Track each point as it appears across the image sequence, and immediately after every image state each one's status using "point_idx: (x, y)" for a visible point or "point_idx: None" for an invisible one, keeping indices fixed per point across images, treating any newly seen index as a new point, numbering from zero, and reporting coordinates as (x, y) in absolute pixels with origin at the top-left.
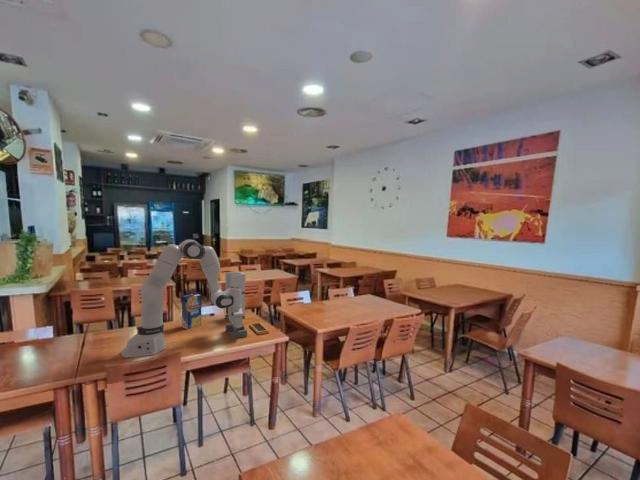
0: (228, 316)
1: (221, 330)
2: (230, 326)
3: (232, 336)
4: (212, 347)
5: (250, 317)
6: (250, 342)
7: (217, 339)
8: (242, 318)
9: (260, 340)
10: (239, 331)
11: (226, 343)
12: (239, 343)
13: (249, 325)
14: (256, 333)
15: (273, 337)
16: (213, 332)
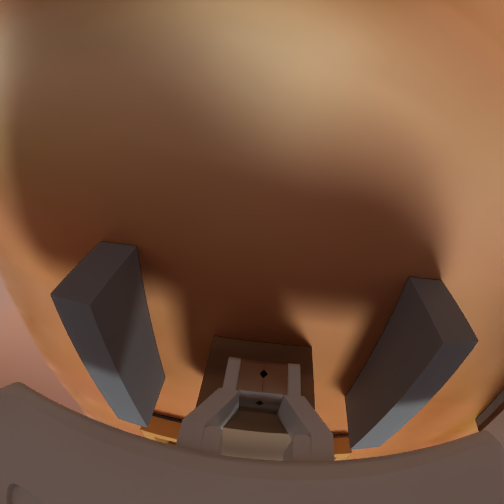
0: (502, 473)
1: (485, 240)
2: (406, 373)
3: (84, 266)
4: (5, 11)
5: (455, 435)
6: (29, 324)
7: (164, 41)
8: (483, 413)
9: (59, 373)
10: (95, 376)
11: (15, 148)
12: (10, 258)
13: (346, 442)
14: (173, 420)
15: (98, 418)
16: (497, 117)
